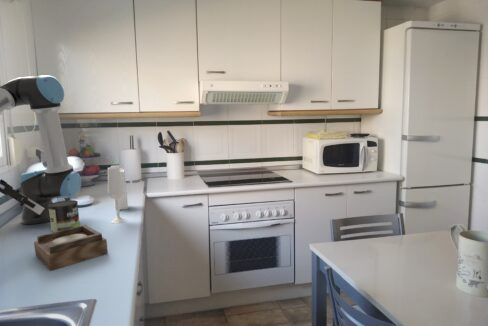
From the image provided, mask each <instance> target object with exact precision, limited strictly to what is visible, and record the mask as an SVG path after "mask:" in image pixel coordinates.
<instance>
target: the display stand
mask: <svg viewBox="0 0 488 326" xmlns="http://www.w3.org/2000/svg"><path fill="white" fill-rule="evenodd" d="M36 237H37V240H36V241H33V245H34V251H35V252H34V253H35V256H36V257H37V259H39V260H40V261H41V262H42V264H44V265H45V267H46V268H47V269H48V270H50V271H54V270H57V269H60V268H64V267H68V266H71V265H75V264H78V263H81V262H84V261H87V260H91V259H95V258H97V256H98V257H100V256H104V254H105V255H107V253H108V254H109V249H108V241H107V240H108V239H107V238H105V237H103V234H102V233H101V232H99V231H98V230H95V229H94V228H91V227H90V226H88V225H87V224H83V225H82V224H80V226H77V227H73V228H69V229H64V230H60V231H56V232H52V231H51V232H48V233H44V234H40V235H37V236H36ZM94 257H95V258H94Z"/></svg>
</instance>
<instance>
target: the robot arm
mask: <svg viewBox="0 0 488 326" xmlns="http://www.w3.org/2000/svg"><path fill="white" fill-rule="evenodd" d="M64 99H65V90H64V86H63V85H62V82H60V80H58V78H57V77H55V76H54V75H53V76H52V75H44V74H43V75H35V76H34V75H33V76H22V77H21V76H20V77H17V78H14V79H11V80H9V81H7V82H6V83H3V84H1V85H0V114H1V113H2V112H4V111H8V110H12V109H14V108H16V107H21V106H26V105H27V106H29V108H30V110H31V111H32V112H34V114H35V116H36V121H37V125H38V130H39V135H40V139H41V143H42V148H43V152H44V158H45V161H46V162H45V163H46V166H47V167H46V168H43V169H42V168H41V169H38V170H32V171H28V172H23V173H22V174H21V175H20V177H19V179H20V180H19V181H20V182H19V183H20V190H19V189H14V188H13V186H12V185H10V184H9V183H8V182H7V181H5V180H3V179H0V193H1V194H3V195H4V196H9V197H10V198H12V199H13V200H15V201H17V202H18V203H20V204H19V206H21V207H23V208H22V213H21V217H20V218H21V224H24V225H36V224H43V223H47V222H50V215H49V208H48V205H49V204H51V203H54V202H53V198H55V199H57V198H58V199H67V198H73V197H75V196H76V195H78V193H79V191H80V190H81V187H82V176H81V175H80V174H79V172H77V171H75V170H74V166H73V165H72V164H70V163H69V160H68V159H69V158H68V155H67V150H66V144H65V139H64V134H63V129H62V125H61V120H60V119H61V118H60V116H59V110H60V108H61V103H62V102H63V101H64ZM20 192H21V193H20Z"/></svg>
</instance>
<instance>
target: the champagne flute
mask: <svg viewBox="0 0 488 326" xmlns="http://www.w3.org/2000/svg"><path fill="white" fill-rule="evenodd" d="M123 193H124V189H123V184H122V179H121V174H120V169H119V167H111V166H110V167H107V195H108V197H110V198H111V199H112V200H113V199H114V200H115V201H116V210H115V211H116V218H114V219H113V220H112V221H111V222H110V223H111V224H122V223H124V222H127V218H124V217H122V216H121V215H120V210H119V203H118V199H120V197H121V196H122V195H123Z"/></svg>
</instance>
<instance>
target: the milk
mask: <svg viewBox="0 0 488 326" xmlns="http://www.w3.org/2000/svg"><path fill="white" fill-rule="evenodd" d="M110 167H119V169H120V174H121V179H122V184H123V189H124V193H123V195H122V196H121V197H120V199H118V203H119V211H121V210H128V209H129V204H128V195H127V193H128V192H127V183H126V175H125V174H126V173H125V169H124V165H123V164H114V165H110ZM112 200H113V201H112V202H113V208H114V210H115V211H116V201H115V200H114V199H113V198H112Z"/></svg>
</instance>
